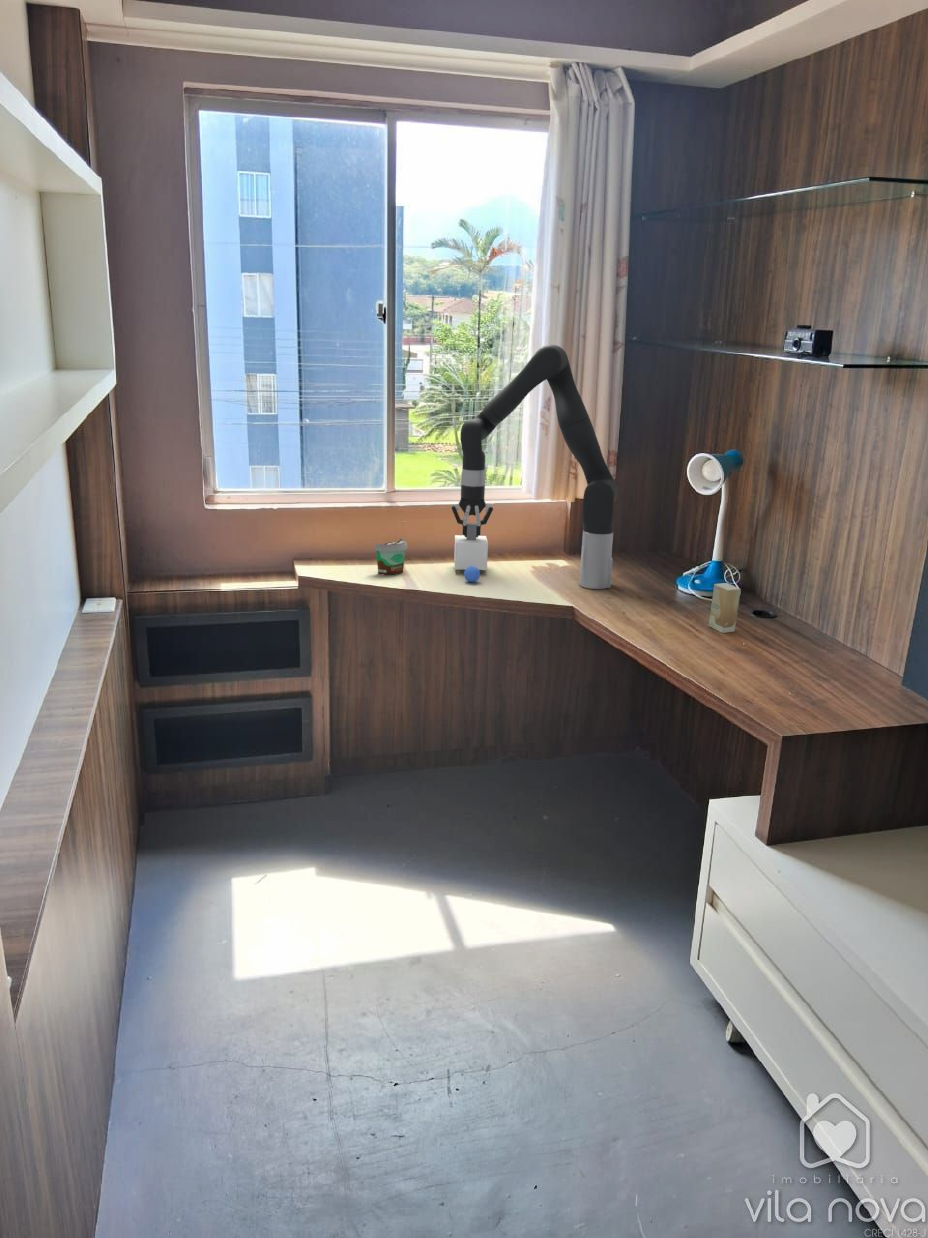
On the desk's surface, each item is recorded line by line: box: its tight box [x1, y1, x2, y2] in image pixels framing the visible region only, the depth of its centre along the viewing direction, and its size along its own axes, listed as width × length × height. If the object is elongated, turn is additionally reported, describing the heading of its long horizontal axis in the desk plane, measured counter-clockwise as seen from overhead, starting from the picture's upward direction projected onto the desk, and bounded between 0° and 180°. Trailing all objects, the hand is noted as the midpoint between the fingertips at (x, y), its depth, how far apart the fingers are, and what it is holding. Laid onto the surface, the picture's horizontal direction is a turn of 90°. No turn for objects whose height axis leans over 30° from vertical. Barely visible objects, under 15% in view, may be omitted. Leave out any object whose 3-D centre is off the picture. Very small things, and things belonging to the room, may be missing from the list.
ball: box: [463, 566, 481, 583], centre depth 293 cm, size 5×5×5 cm
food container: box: [374, 537, 408, 576], centre depth 299 cm, size 12×6×10 cm, turn 143°
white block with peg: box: [453, 522, 489, 571], centre depth 305 cm, size 10×10×14 cm
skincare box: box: [708, 582, 742, 634], centre depth 255 cm, size 6×4×12 cm
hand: (471, 536), depth 304 cm, fingers closed on white block with peg, 3 cm apart
